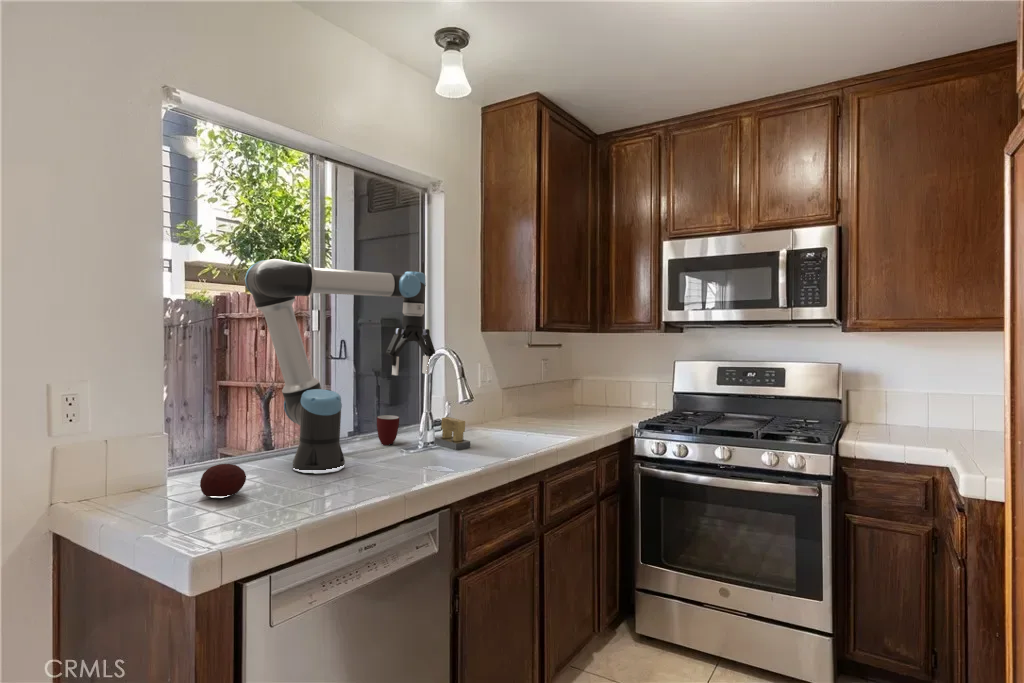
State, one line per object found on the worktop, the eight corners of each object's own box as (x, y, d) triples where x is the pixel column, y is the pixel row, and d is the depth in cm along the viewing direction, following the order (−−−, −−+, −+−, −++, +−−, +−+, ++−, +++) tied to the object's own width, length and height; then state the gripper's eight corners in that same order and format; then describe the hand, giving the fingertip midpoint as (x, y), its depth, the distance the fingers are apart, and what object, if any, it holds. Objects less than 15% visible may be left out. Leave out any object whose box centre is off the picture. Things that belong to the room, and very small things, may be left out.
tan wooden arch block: (456, 449, 212) (458, 422, 211) (440, 444, 218) (441, 417, 217) (463, 447, 214) (465, 421, 214) (447, 443, 221) (448, 417, 220)
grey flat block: (455, 450, 210) (456, 443, 209) (434, 444, 218) (434, 437, 217) (470, 447, 215) (470, 441, 215) (448, 441, 223) (448, 435, 223)
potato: (213, 488, 153) (214, 457, 152) (255, 491, 153) (256, 460, 152) (187, 502, 141) (188, 469, 141) (232, 505, 141) (234, 471, 141)
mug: (371, 440, 218) (373, 414, 217) (392, 439, 221) (394, 413, 221) (378, 447, 208) (380, 419, 208) (400, 445, 212) (402, 418, 211)
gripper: (390, 314, 196) (387, 376, 196) (446, 316, 214) (443, 374, 215) (377, 313, 201) (375, 374, 202) (433, 316, 219) (430, 371, 220)
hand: (410, 374), depth 208 cm, fingers open, 13 cm apart
